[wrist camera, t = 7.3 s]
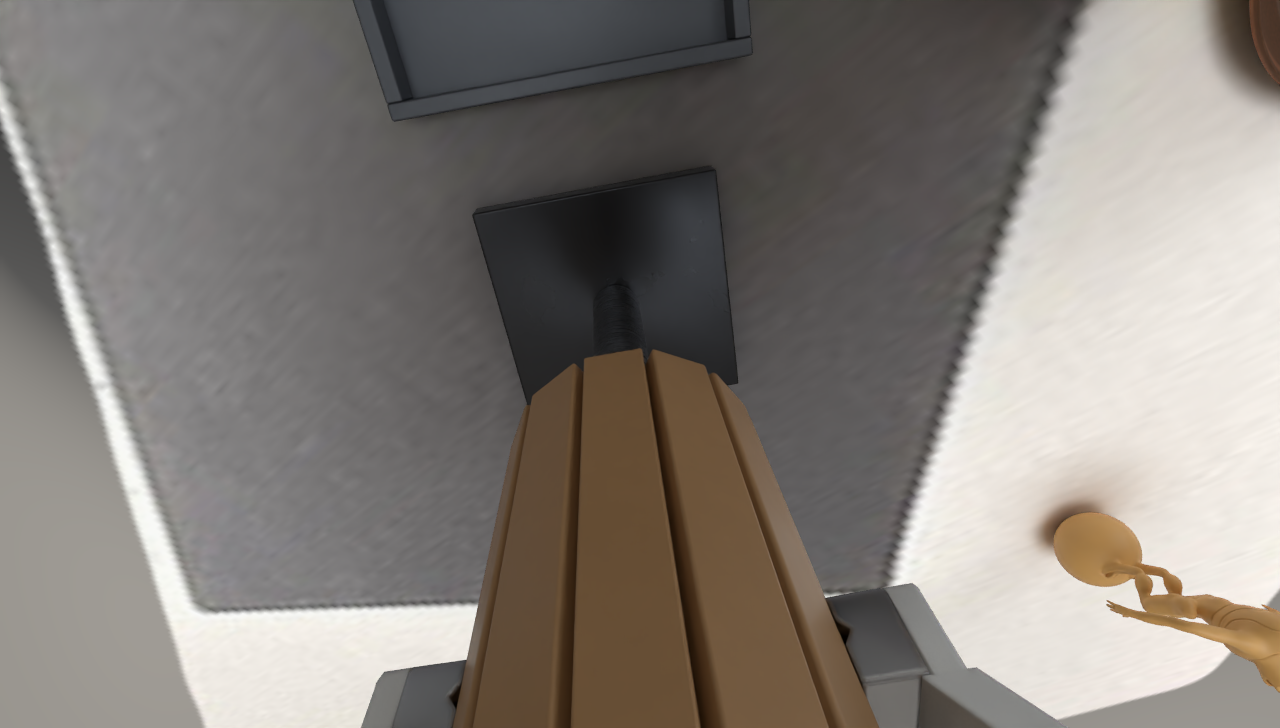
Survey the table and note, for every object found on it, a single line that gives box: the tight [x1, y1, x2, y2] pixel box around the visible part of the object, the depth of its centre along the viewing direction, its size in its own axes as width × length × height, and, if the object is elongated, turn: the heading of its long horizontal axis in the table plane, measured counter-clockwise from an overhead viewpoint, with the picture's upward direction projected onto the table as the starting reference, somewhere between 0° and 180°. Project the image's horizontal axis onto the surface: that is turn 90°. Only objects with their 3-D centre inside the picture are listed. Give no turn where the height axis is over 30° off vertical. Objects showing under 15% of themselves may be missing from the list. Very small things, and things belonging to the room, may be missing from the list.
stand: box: [472, 166, 738, 405], centre depth 24 cm, size 10×10×10 cm
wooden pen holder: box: [453, 348, 879, 728], centre depth 11 cm, size 6×6×10 cm
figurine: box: [1053, 512, 1280, 693], centre depth 31 cm, size 8×6×12 cm
